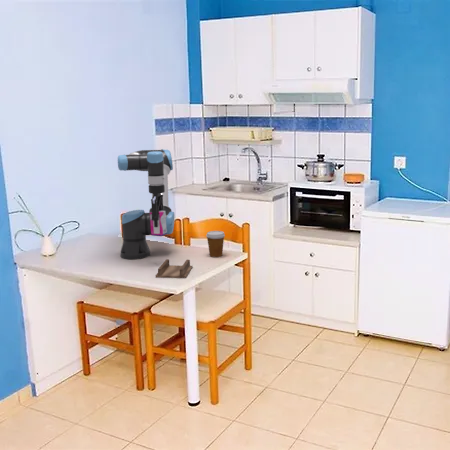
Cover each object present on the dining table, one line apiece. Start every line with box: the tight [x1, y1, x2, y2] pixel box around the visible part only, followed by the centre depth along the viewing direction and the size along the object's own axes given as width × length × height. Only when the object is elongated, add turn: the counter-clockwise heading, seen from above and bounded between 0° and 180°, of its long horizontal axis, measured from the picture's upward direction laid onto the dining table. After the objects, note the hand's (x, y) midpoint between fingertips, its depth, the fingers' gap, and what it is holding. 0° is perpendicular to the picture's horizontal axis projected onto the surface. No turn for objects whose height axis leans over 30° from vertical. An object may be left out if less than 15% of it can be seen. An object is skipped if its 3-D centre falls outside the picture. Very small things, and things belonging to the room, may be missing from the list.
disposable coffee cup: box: [205, 230, 226, 258], centre depth 287 cm, size 10×10×12 cm
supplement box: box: [150, 211, 168, 237], centre depth 271 cm, size 6×6×12 cm
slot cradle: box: [155, 258, 194, 279], centre depth 261 cm, size 14×16×4 cm
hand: (158, 231), depth 272 cm, fingers closed on supplement box, 7 cm apart
